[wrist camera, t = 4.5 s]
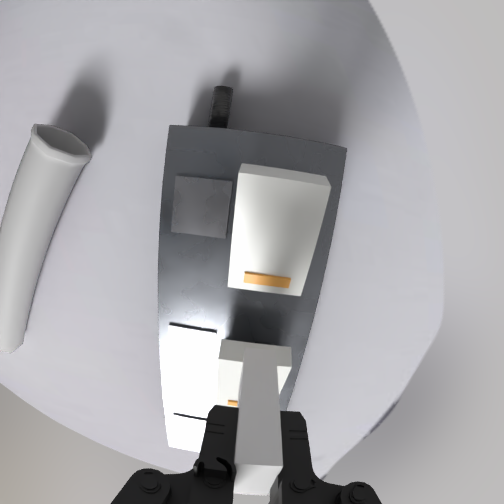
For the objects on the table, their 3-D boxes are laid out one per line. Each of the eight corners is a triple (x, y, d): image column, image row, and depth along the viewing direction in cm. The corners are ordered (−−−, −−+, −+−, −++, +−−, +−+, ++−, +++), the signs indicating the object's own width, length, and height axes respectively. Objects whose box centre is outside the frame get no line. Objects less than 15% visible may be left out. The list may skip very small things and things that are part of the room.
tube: (-21, 330, 19) (25, 118, 13) (11, 320, 25) (75, 131, 18) (-3, 367, 19) (44, 151, 12) (30, 354, 24) (102, 162, 17)
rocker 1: (241, 163, 13) (238, 173, 11) (325, 176, 13) (332, 188, 12) (230, 270, 16) (227, 288, 15) (299, 279, 16) (300, 298, 15)
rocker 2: (221, 338, 15) (217, 360, 14) (291, 346, 16) (291, 369, 14) (218, 388, 19) (215, 406, 18) (272, 394, 19) (271, 412, 18)
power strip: (191, 91, 17) (174, 73, 13) (336, 110, 17) (355, 96, 13) (176, 422, 26) (167, 450, 22) (267, 435, 26) (268, 464, 22)
